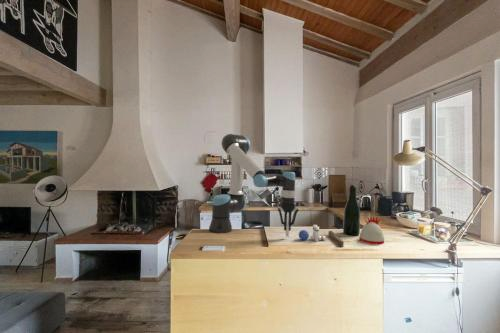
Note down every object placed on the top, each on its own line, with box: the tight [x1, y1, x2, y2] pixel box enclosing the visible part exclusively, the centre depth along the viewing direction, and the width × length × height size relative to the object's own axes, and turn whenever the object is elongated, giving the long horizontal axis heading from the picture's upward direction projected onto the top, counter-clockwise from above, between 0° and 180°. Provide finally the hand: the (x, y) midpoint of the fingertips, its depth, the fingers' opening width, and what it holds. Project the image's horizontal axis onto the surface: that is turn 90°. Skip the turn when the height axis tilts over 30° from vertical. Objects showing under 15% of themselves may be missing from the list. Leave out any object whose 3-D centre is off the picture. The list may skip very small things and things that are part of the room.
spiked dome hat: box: [359, 216, 385, 245], centre depth 169 cm, size 14×14×15 cm
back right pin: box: [313, 226, 320, 243], centre depth 165 cm, size 2×2×8 cm
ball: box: [298, 229, 310, 241], centre depth 166 cm, size 6×6×6 cm
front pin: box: [310, 235, 326, 241], centre depth 167 cm, size 2×2×8 cm
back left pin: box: [312, 224, 318, 236], centre depth 170 cm, size 2×2×8 cm
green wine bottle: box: [342, 184, 361, 236], centre depth 185 cm, size 10×10×33 cm
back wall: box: [328, 230, 344, 248], centre depth 167 cm, size 2×24×3 cm, turn 179°
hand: (287, 235), depth 168 cm, fingers closed
